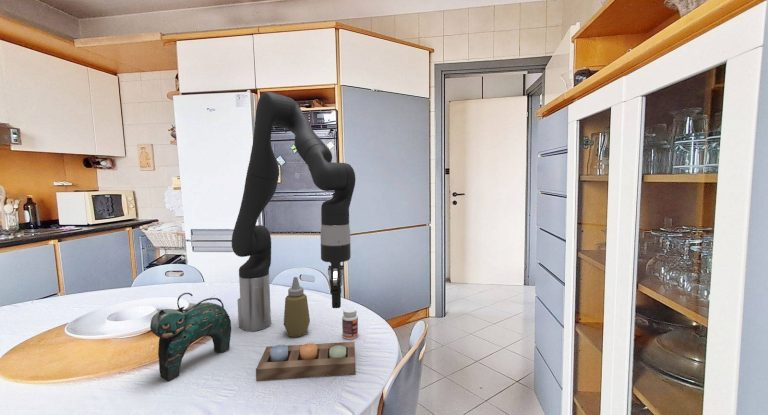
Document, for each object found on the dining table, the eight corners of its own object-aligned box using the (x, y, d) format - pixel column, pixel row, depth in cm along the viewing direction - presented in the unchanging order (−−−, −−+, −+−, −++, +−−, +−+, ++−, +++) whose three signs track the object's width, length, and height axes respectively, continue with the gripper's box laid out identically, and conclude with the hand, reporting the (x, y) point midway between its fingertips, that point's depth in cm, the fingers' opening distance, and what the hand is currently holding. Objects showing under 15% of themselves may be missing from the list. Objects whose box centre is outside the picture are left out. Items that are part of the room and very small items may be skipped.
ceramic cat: (163, 387, 80) (157, 305, 79) (148, 379, 84) (142, 300, 82) (235, 349, 98) (232, 281, 96) (221, 344, 101) (217, 278, 99)
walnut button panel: (256, 381, 83) (255, 369, 82) (266, 357, 93) (266, 346, 93) (355, 374, 85) (355, 362, 85) (354, 351, 96) (354, 341, 96)
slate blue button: (268, 365, 86) (268, 353, 86) (272, 355, 90) (272, 345, 90) (286, 363, 86) (286, 352, 86) (289, 354, 91) (289, 344, 90)
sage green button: (329, 365, 88) (328, 354, 87) (330, 356, 92) (329, 345, 92) (346, 364, 88) (346, 353, 88) (346, 355, 92) (346, 344, 92)
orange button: (299, 363, 87) (298, 351, 86) (301, 354, 91) (301, 343, 91) (316, 362, 87) (316, 350, 87) (318, 353, 92) (317, 342, 91)
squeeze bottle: (315, 330, 110) (314, 275, 108) (299, 341, 102) (297, 282, 101) (295, 325, 113) (293, 272, 111) (278, 336, 106) (276, 279, 104)
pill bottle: (355, 340, 103) (355, 313, 102) (340, 338, 104) (339, 312, 103) (359, 333, 107) (359, 307, 107) (345, 331, 108) (344, 306, 107)
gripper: (350, 246, 81) (351, 317, 82) (350, 236, 94) (350, 297, 95) (318, 247, 80) (319, 318, 82) (322, 236, 93) (323, 298, 95)
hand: (336, 306), depth 89 cm, fingers closed
